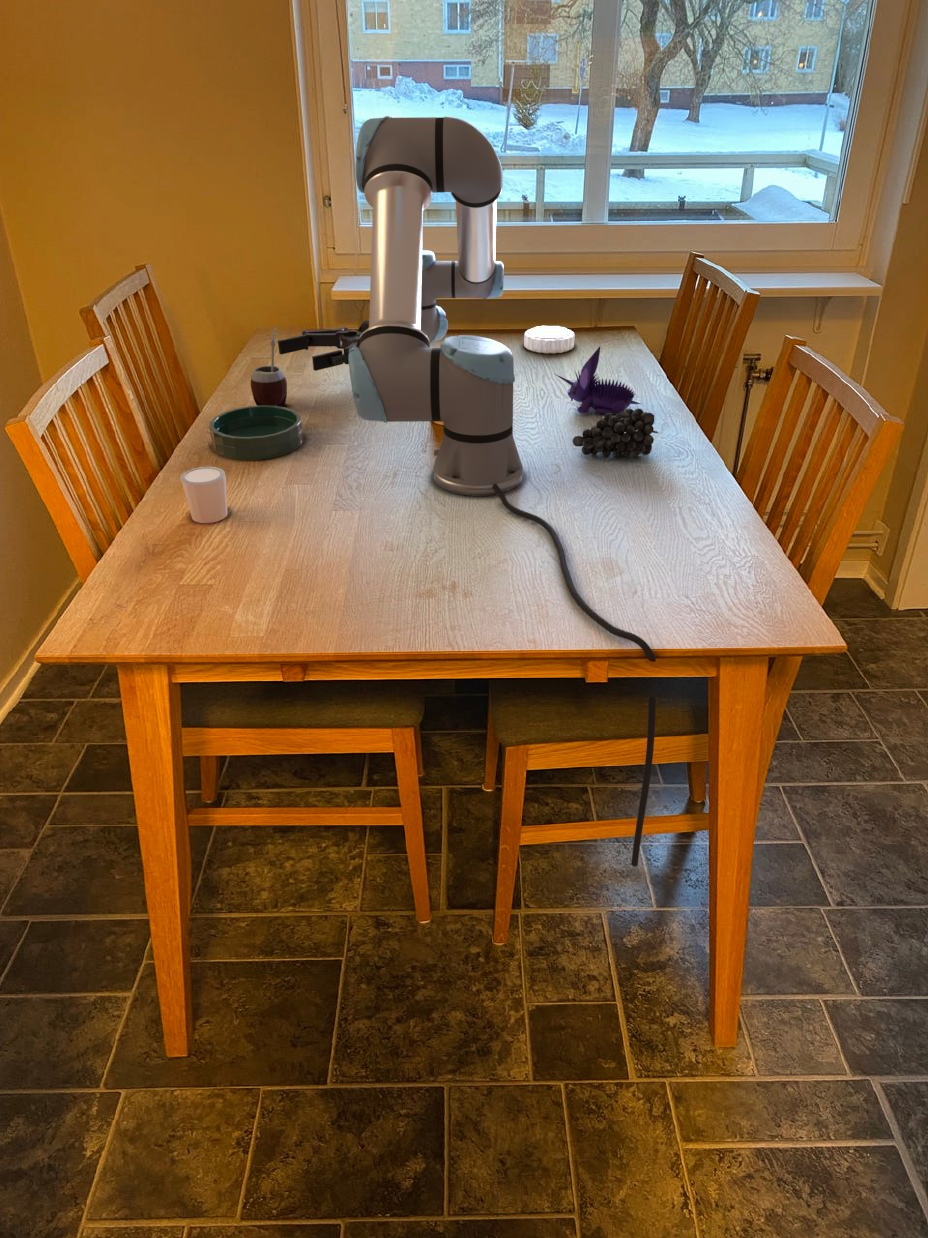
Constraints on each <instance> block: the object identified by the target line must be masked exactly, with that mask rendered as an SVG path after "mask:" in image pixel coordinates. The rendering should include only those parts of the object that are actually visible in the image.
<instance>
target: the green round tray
mask: <svg viewBox="0 0 928 1238" xmlns="http://www.w3.org/2000/svg"><path fill="white" fill-rule="evenodd" d="M209 433H210V441H211V447H212V449H213V451H214V452H215V453H216V454H218V455H219V456H221V457H223V458H227V459H231V460H235V461H236V460H237V461H261V460H270V459H274V458H278V457H281V456H285V455H288V454H290V453H292V452H294V451H296V450H298V449H299V448H300V447H301V445H302V444H303V442H304V435H303V434H304V433H303V424H302V416H301V414H300V413H299V412H297V411H296V410H294V409H292V408H289V407H280V406H270V405H258V406H257V405H248V406H242V407H237V408H232V409H230V410H227V411H224V412H221V413H220V414H218V415H216V416H214V417H213V418H212V419H211V420H210V421H209Z"/></svg>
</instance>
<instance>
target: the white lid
mask: <svg viewBox="0 0 928 1238" xmlns="http://www.w3.org/2000/svg"><path fill="white" fill-rule="evenodd" d="M523 335H524V337H523V346H524V348H526V350H528V351H531V352H536V353H538V354H561V353H566V352H569V351H571V350H573V348H574V347H575V338H576V336H575V332H574V331H572V330H571V329H568V328H566V326H565V327H564V326H560V325H540V326H535V327H532V328H530V329H526V331H524V334H523Z"/></svg>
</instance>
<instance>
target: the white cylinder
mask: <svg viewBox="0 0 928 1238" xmlns="http://www.w3.org/2000/svg"><path fill="white" fill-rule="evenodd" d="M179 478H180V482H181V486H182V489H183V493H184V496H185V500H186V503H187V506H188V509H189V512H190V517H191V519H192V521H194V522H196V523H200V524H212V523H216V522H219V521H222V520H224V519H225V518H226V517H227V516H228V513H229V512H228V500H227V499H228V498H227V496H228V495H227V481H226V472H225V470H223V469H222V468H220V467H215V466H201V467H195V468H191V469H189V470H186V471H184V472H183V473H182V474H181V475H180V477H179Z"/></svg>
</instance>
